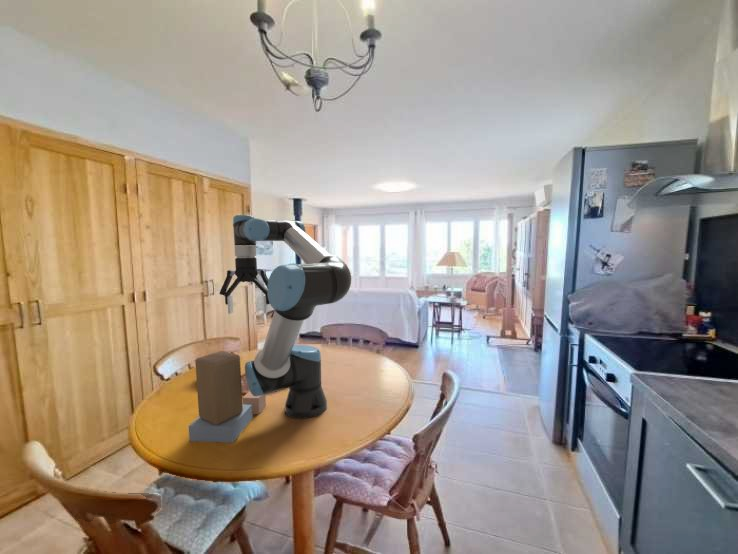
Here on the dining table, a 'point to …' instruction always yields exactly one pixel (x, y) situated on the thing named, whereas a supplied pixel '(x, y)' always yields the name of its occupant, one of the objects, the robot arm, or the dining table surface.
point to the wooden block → (219, 386)
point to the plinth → (220, 428)
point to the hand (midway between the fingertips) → (248, 312)
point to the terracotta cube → (255, 402)
